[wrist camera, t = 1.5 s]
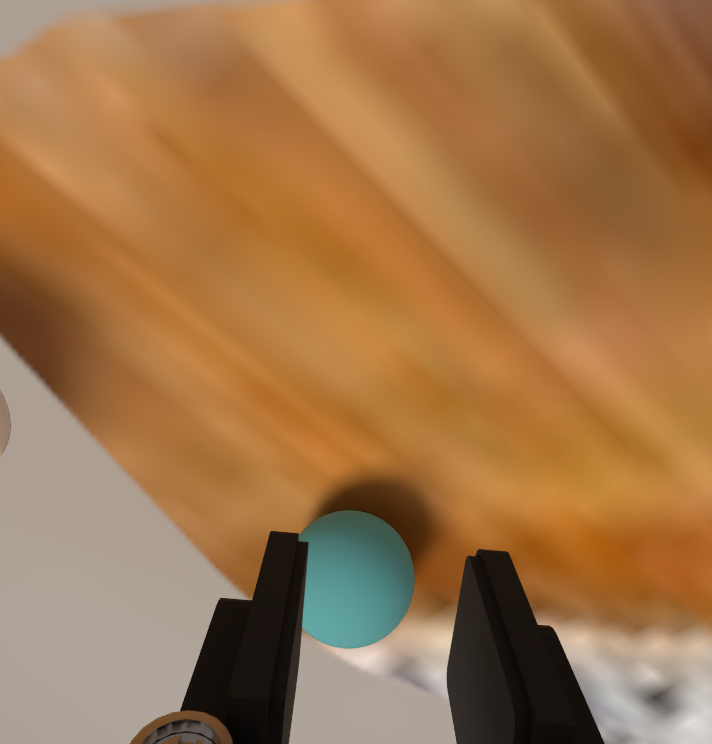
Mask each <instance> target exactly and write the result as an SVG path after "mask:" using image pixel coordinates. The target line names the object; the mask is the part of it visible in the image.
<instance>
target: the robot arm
mask: <svg viewBox="0 0 712 744" xmlns="http://www.w3.org/2000/svg"><path fill="white" fill-rule="evenodd" d="M308 547H309V542H303V541H299V533H288V532H277V531H271V532H270V535H269V539H268V542H267V546H266V550H265V554H264V558H263V561H262V565H261V569H260V573H259V577H258V580H257V584H256V588H255V592H254V596H253V599H252V600H240V599H228V598H220V600H219V601H218V603H217V605H216V608H215V611H214V614H213V617H212V620H211V623H210V626H209V629H208V631H207V635H206V637H205V640H204V643H203V646H202V649H201V652H200V655H199V658H198V661H197V664H196V666H195V669H194V672H193V675H192V678H191V681H190V684H189V687H188V689H187V692H186V695H185V698H184V701H183V704H182V707H181V710H180V712H173V713H170V714H167V715H165V716H162V717H159V718H157V719H155V720H154V721H152V722H151V723H149V724H148V725H146V726H145V727H143V728H142V729H141V731H140V732H139V733H138V734H137V735H136V736H135V737H134V738H133V740H132V741H131V743H130V744H289V737H290V729H291V721H292V714H293V706H294V698H295V691H296V683H297V675H298V667H299V656H300V644H301V633H302V620H303V608H304V596H305V584H306V572H307V560H308ZM447 689H448V695H449V701H450V707H451V712H452V718H453V724H454V730H455V736H456V741H457V744H604V741H603V739H602V737H601V734H600V732H599V730H598V728H597V725H596V723H595V721H594V718H593V716H592V714H591V712H590V709H589V707H588V705H587V702H586V700H585V698H584V696H583V693H582V691H581V689H580V686H579V684H578V682H577V680H576V677H575V675H574V673H573V670H572V668H571V666H570V664H569V661H568V659H567V657H566V654H565V652H564V650H563V648H562V645H561V643H560V641H559V638H558V636H557V634H556V632H555V631H554V629H553V628H552V627H550V626H546V625H538V624H537V622H536V619H535V617H534V614H533V612H532V609H531V607H530V604H529V602H528V600H527V597H526V595H525V592H524V590H523V587H522V585H521V582H520V580H519V577H518V575H517V572H516V570H515V567H514V565H513V562H512V560H511V557H510V555H509V553H508V552H506V551H494V550H483V549H479V550H478V551H477V553H476V556H467V558H466V562H465V567H464V573H463V579H462V584H461V590H460V596H459V602H458V608H457V614H456V620H455V625H454V631H453V637H452V643H451V649H450V655H449V661H448V667H447Z"/></svg>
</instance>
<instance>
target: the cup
mask: <svg viewBox="0 0 712 744" xmlns="http://www.w3.org/2000/svg"><path fill="white" fill-rule="evenodd" d="M10 427H11V424H10V414H9V410H8V406H7V403H6V401H5V398H4V396H3V394H2V392H1V390H0V456H1V455H2V453H3V451H4V450H5V448H6V446H7V443H8V440H9V436H10Z"/></svg>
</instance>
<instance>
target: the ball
mask: <svg viewBox="0 0 712 744" xmlns="http://www.w3.org/2000/svg"><path fill="white" fill-rule="evenodd" d="M299 541H303V542H309V547H308V560H307V572H306V584H305V596H304V608H303V620H302V628H303V629H304V630H305V631H306V632H307V633H308V634H309V635H311V636H312V637H313V638H315V639H316V640H318V641H320V642H322V643H324V644H327V645H329V646H333V647H338V648H349V649H350V648H360V647H365V646H368V645H371V644H373V643H376V642H378V641H380V640H381V639H383V638H384V637H386V636H387V635H388V634H390V633H391V632H392V631H393V630H394V629H395V628H396V627H397V626H398V624H399V623H400V622H401V620H402V619H403V618H404V616H405V614H406V612H407V610H408V608H409V605H410V603H411V600H412V596H413V591H414V581H415V580H414V567H413V563H412V559H411V555H410V553H409V550H408V548H407V546H406V544H405V543H404V541H403V539H402V538H401V537H400V535H399V534H398V533H397V532H396V531H395V530H394V529H393V528H392V527H391V526H390V525H389V524H388V523H386V522H385V521H384V520H382V519H380V518H378V517H376V516H374V515H372V514H369V513H366V512H362V511H355V510H344V511H337V512H333V513H330V514H327V515H325V516H322V517H320V518H318V519H317V520H315V521H313V522H312V523H311V524H310V525H308V526H307V527H306V528H305V529H304V530H303V531H302V532H301V533H300V534H299Z"/></svg>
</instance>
